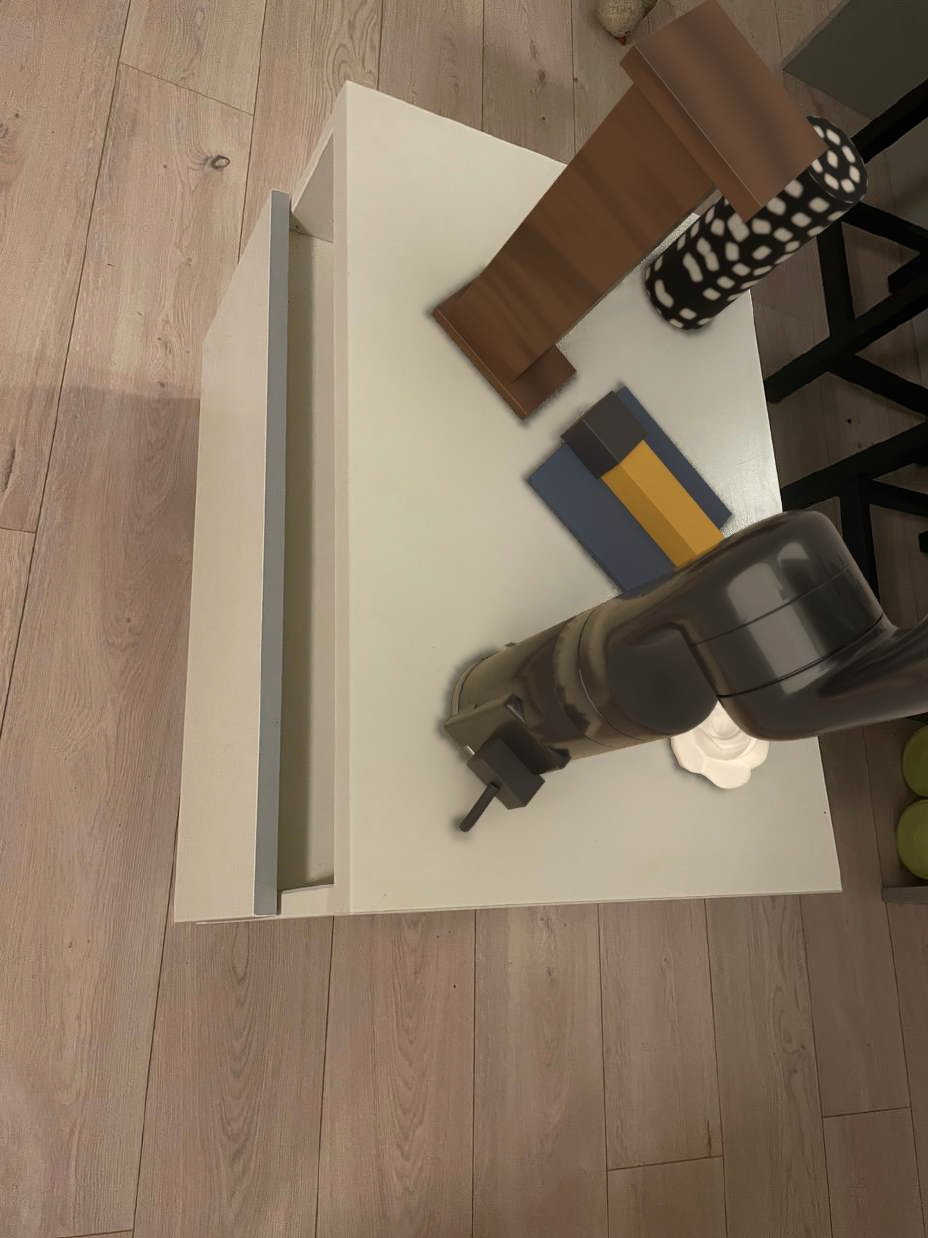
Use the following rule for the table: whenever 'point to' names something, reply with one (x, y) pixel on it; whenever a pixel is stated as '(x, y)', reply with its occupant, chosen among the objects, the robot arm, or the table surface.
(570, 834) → the table surface
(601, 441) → the pen box
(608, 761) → the table surface
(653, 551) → the desk mat
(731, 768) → the rose
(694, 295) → the white-spotted black cylinder
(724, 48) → the stand
